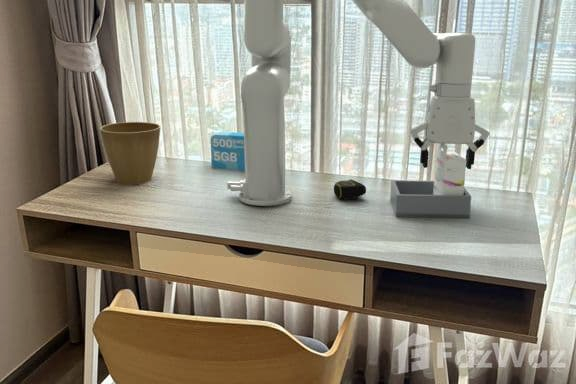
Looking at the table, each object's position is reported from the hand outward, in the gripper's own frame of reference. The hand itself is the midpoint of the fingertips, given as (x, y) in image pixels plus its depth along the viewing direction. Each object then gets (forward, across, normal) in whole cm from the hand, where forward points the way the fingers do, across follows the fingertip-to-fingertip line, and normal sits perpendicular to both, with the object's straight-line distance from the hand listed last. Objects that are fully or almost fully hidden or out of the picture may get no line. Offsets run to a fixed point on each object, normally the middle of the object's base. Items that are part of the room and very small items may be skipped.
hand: (446, 167), depth 137 cm
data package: (+11, -53, +27) cm, 60 cm away
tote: (+10, -4, -1) cm, 10 cm away
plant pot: (+11, -77, +14) cm, 79 cm away
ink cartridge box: (+9, +1, -1) cm, 9 cm away
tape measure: (+10, -18, +6) cm, 22 cm away
